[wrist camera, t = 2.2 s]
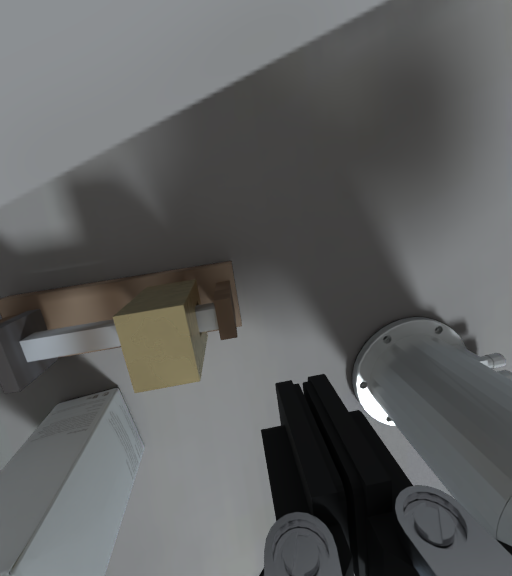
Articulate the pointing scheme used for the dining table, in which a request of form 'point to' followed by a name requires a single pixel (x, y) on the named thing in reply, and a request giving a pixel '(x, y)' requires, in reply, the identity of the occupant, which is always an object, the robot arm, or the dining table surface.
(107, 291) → the rod stand
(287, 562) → the robot arm
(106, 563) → the skincare box
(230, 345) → the dining table surface
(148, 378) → the yellow rectangular block
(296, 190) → the dining table surface
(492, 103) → the dining table surface
